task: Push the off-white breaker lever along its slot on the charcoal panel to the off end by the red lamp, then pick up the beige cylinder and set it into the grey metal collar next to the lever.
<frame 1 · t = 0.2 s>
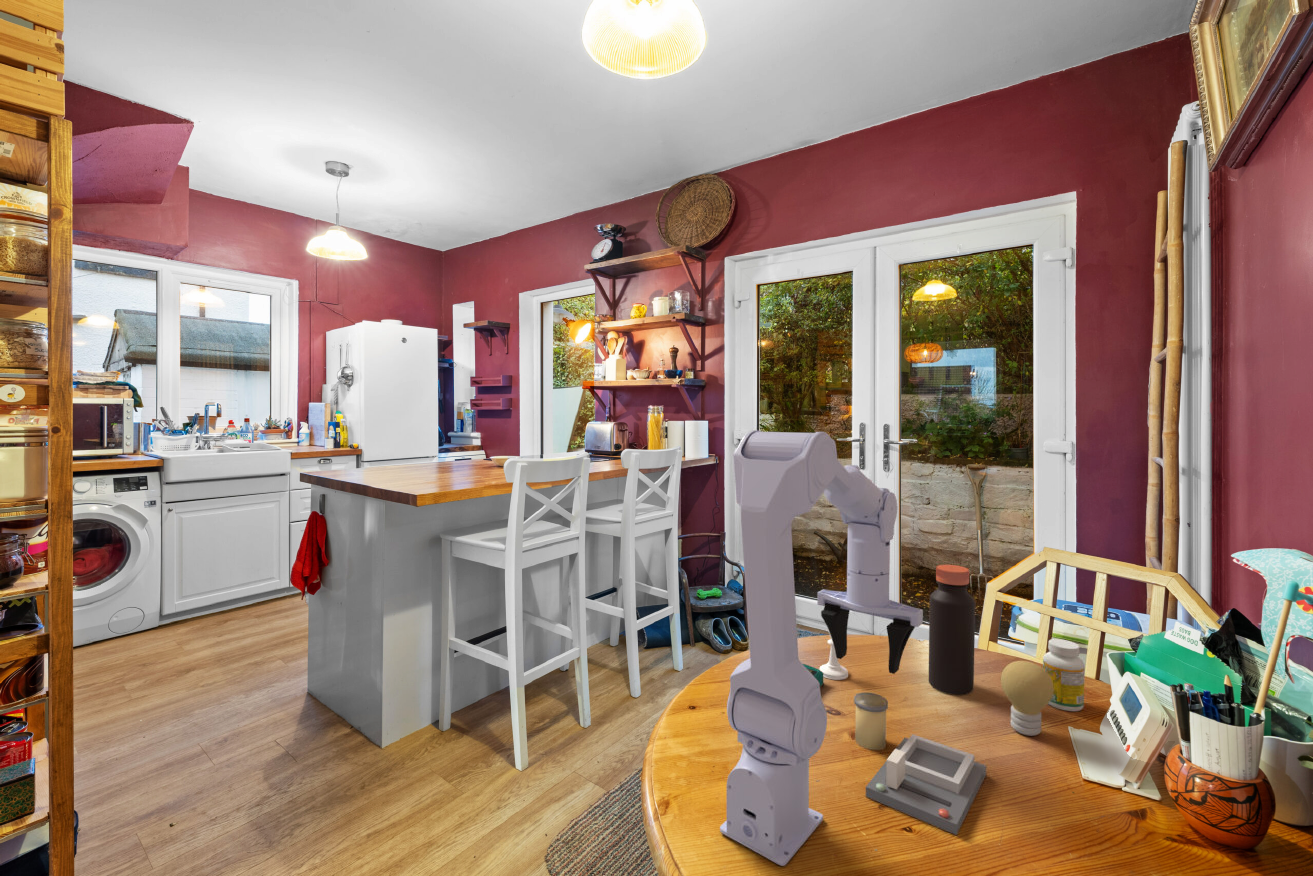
hand: (866, 663, 85), 10 cm above the table, tool pointing down, fingers open, 7 cm apart
supplement bottle: (1062, 704, 93), on the table
beige cylinder: (870, 742, 83), on the table
light bulb: (1025, 732, 85), on the table
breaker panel: (927, 785, 73), on the table
chess piece: (833, 674, 104), on the table
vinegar: (950, 687, 99), on the table
digital multimeter: (784, 697, 97), on the table
breaker lever: (895, 768, 71), point 3 cm above the table, slide at 0.0 cm
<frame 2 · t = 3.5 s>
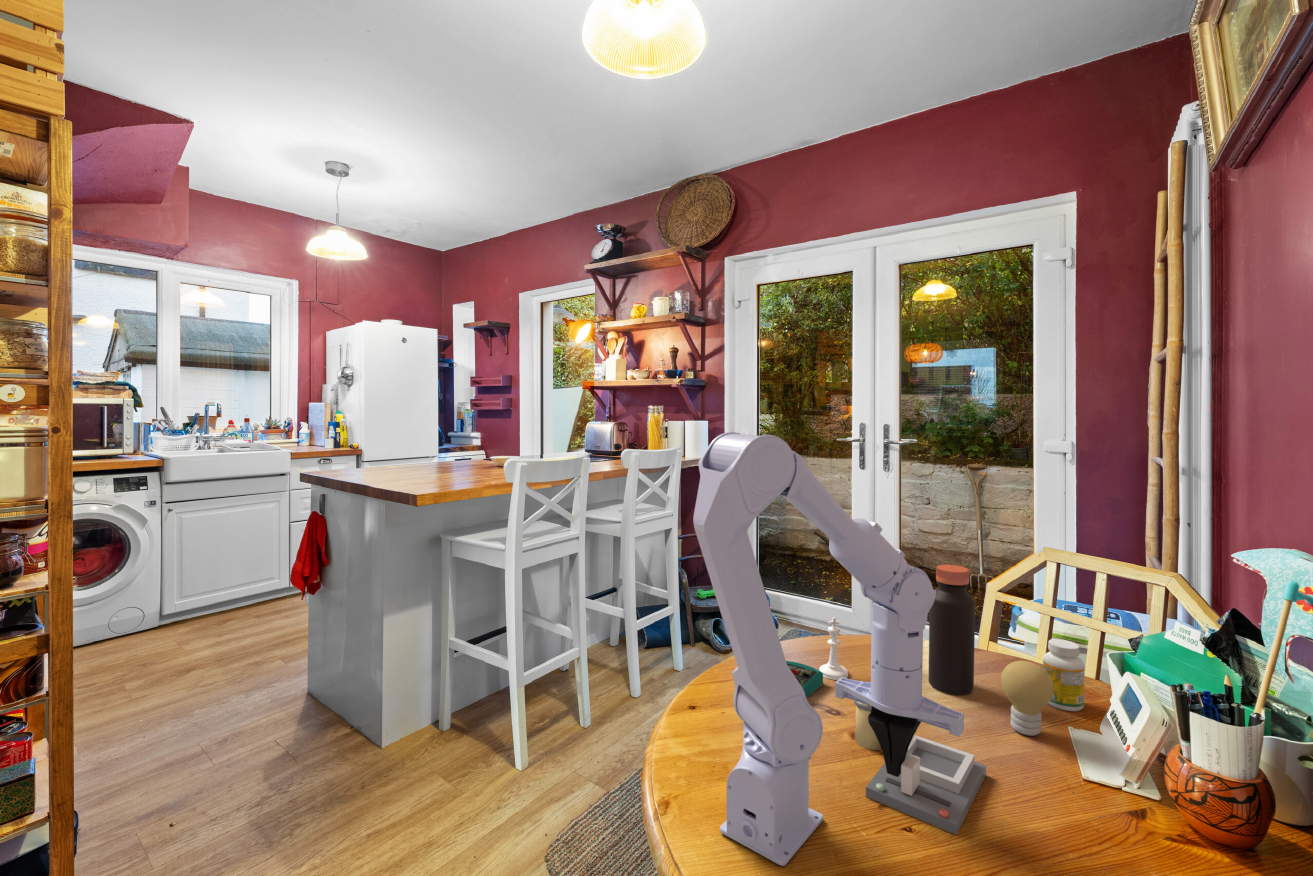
hand: (895, 771, 72), 3 cm above the table, tool pointing down, fingers closed
breaker lever: (910, 774, 70), point 3 cm above the table, slide at 1.7 cm, touching gripper
everything else where it was.
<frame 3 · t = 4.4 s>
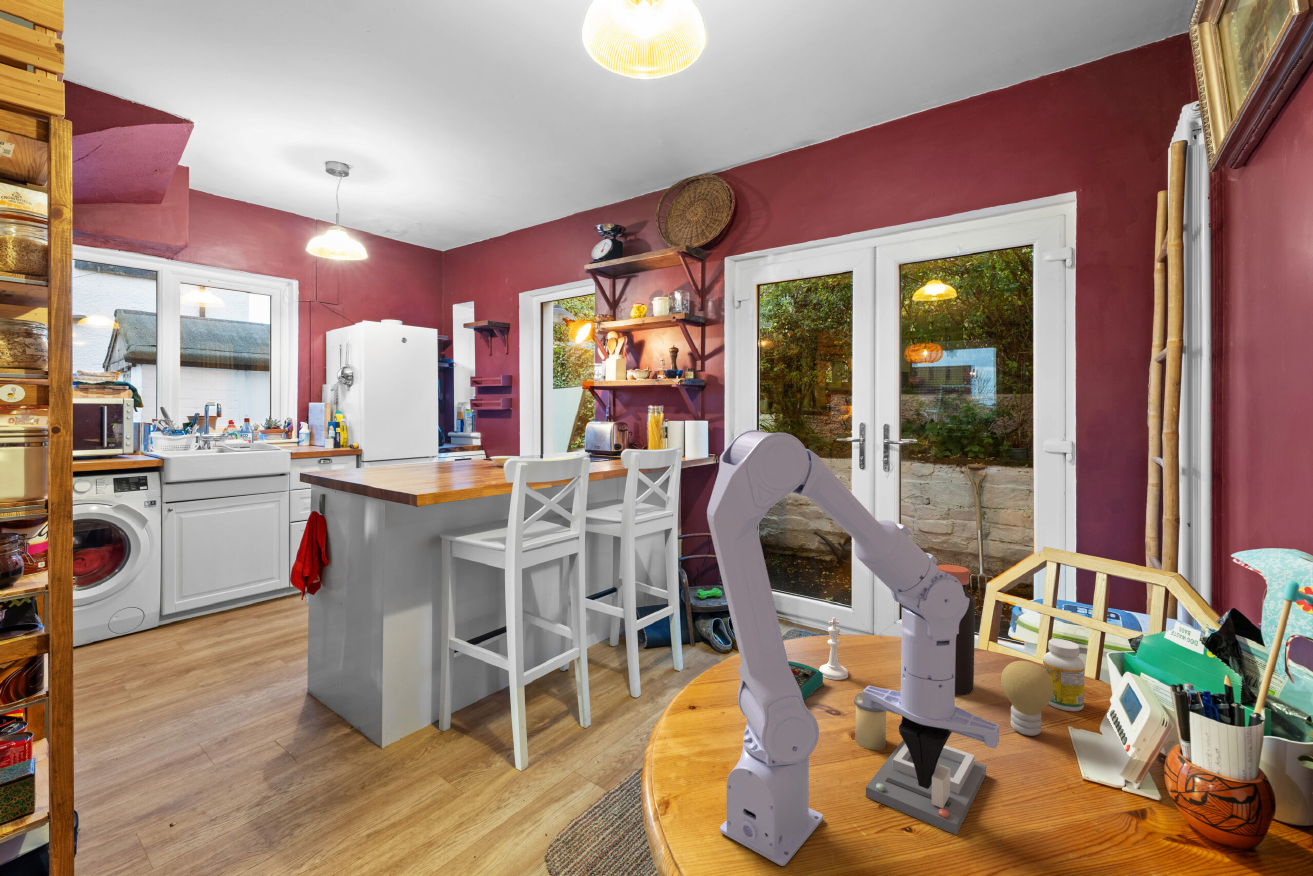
hand: (925, 783, 69), 3 cm above the table, tool pointing down, fingers closed
breaker lever: (941, 786, 68), point 3 cm above the table, slide at 5.1 cm, touching gripper
everything else where it was.
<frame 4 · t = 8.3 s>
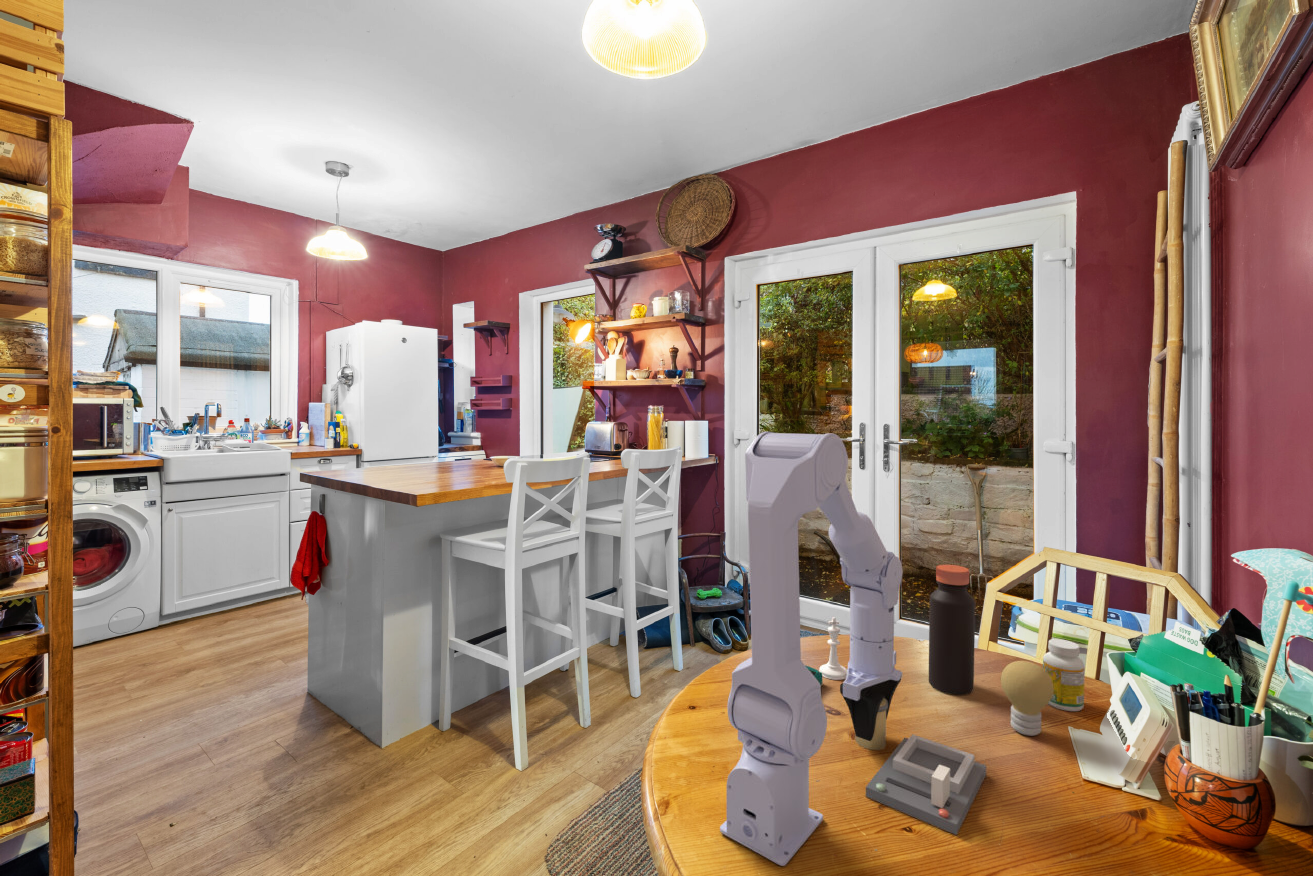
hand: (870, 730, 83), 2 cm above the table, tool pointing down, fingers closed on beige cylinder, 4 cm apart
beige cylinder: (870, 741, 83), on the table, touching gripper
breaker lever: (940, 786, 68), point 3 cm above the table, slide at 5.1 cm
everything else where it was.
when the fingers open (4 cm above the table, at t = 12.4 s): beige cylinder stays where it is, resting on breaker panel.
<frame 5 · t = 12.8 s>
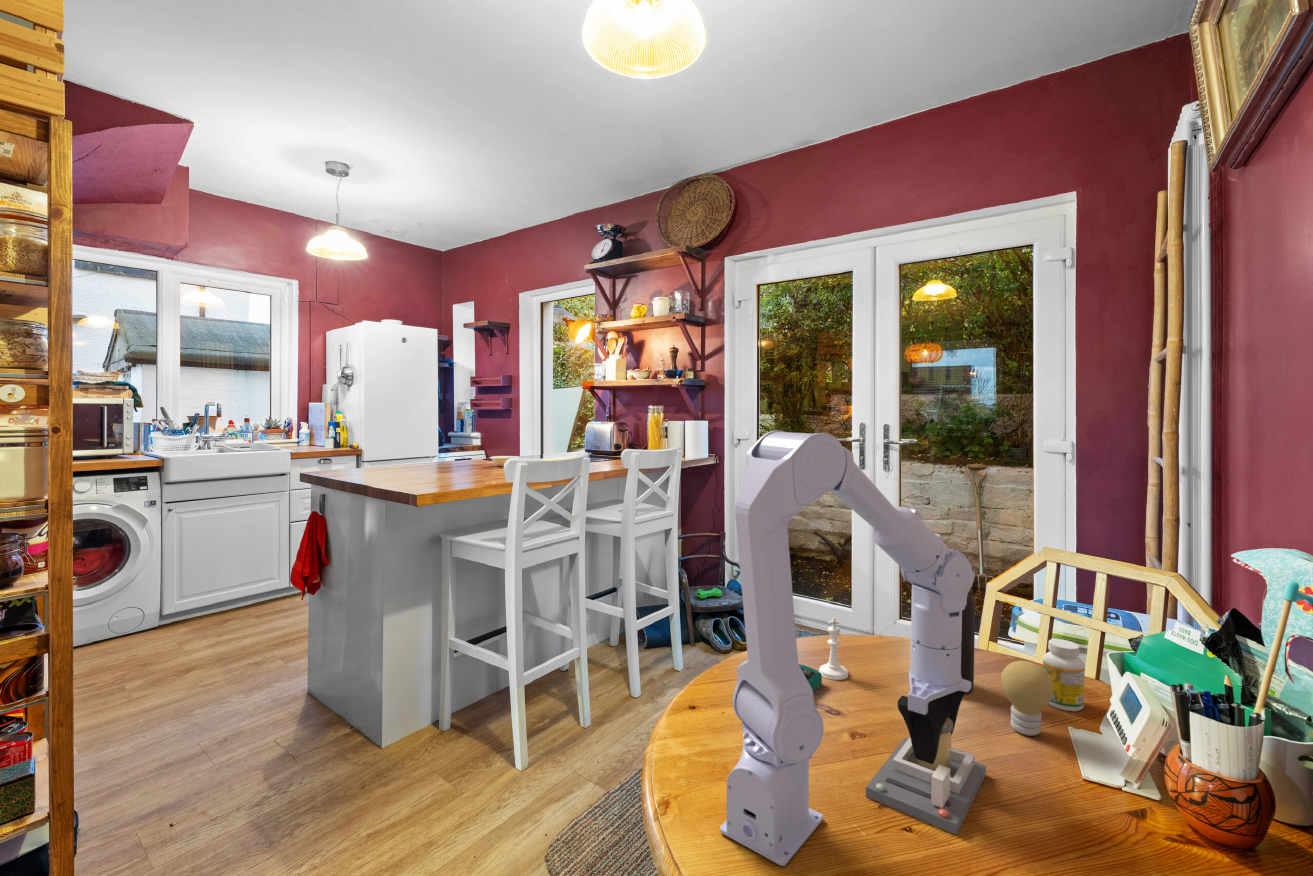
hand: (934, 746, 75), 4 cm above the table, tool pointing down, fingers open, 7 cm apart
beige cylinder: (932, 766, 75), point 1 cm above the table, touching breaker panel
everything else where it was.
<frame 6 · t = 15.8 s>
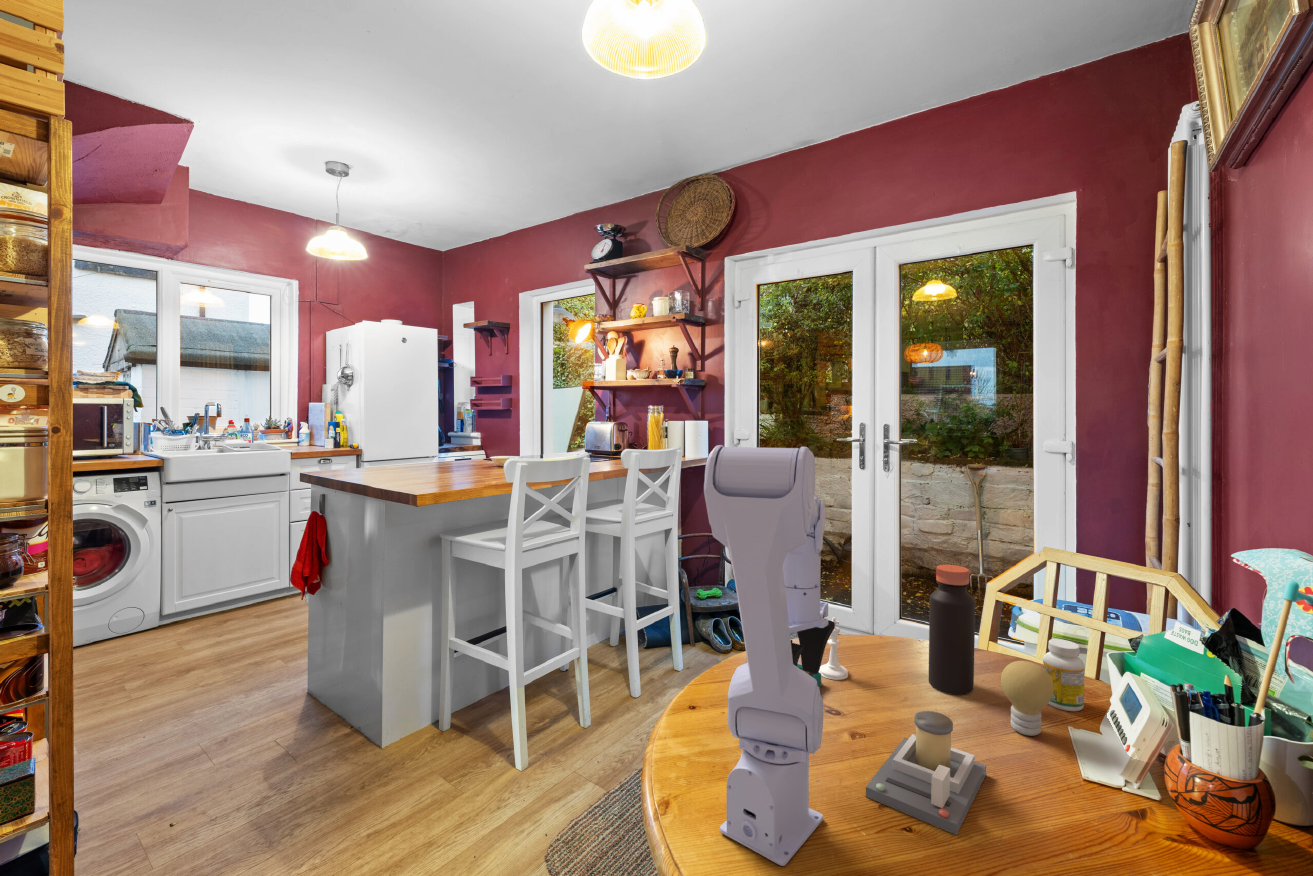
hand: (798, 681, 81), 9 cm above the table, tool pointing down, fingers open, 7 cm apart
nothing on the table moved.
at the end: breaker lever slide at 5.1 cm; beige cylinder 0.1 cm from the target spot on the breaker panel, point 1.3 cm above the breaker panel's base; beige cylinder tilted 2° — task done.
